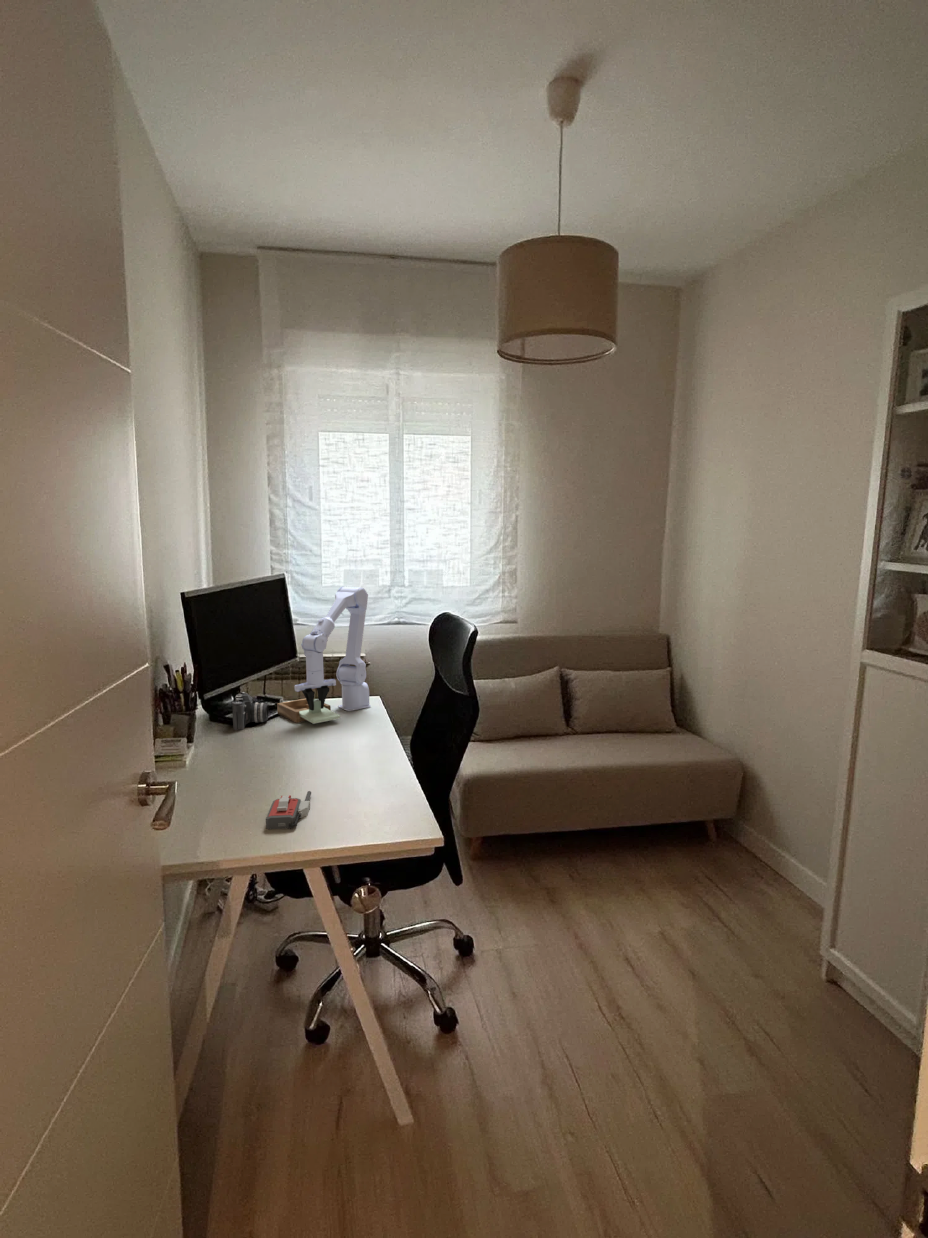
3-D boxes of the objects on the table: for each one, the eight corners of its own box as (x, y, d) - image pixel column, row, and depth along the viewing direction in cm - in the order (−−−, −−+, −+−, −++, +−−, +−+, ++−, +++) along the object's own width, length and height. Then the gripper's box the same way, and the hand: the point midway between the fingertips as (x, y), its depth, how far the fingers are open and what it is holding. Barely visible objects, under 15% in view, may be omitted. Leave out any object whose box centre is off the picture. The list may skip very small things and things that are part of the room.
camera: (265, 729, 236) (263, 699, 235) (231, 731, 235) (229, 701, 233) (269, 717, 250) (268, 689, 249) (237, 719, 249) (235, 691, 247)
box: (311, 707, 263) (310, 697, 262) (330, 716, 251) (330, 705, 250) (277, 713, 254) (277, 703, 254) (296, 723, 243) (296, 712, 242)
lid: (323, 709, 252) (323, 695, 251) (340, 718, 242) (340, 704, 242) (297, 714, 245) (296, 700, 245) (313, 723, 236) (313, 709, 235)
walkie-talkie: (304, 831, 160) (314, 797, 179) (303, 812, 159) (313, 780, 179) (263, 833, 159) (278, 798, 179) (262, 814, 158) (277, 781, 178)
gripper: (328, 665, 250) (329, 703, 252) (289, 670, 241) (291, 710, 243) (338, 668, 245) (339, 707, 247) (299, 674, 236) (300, 714, 238)
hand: (316, 708), depth 245 cm, fingers closed on lid, 3 cm apart
